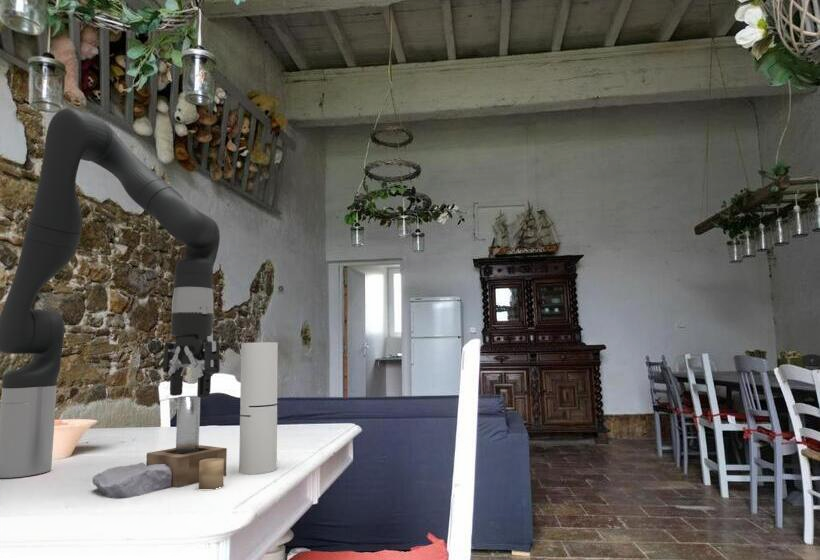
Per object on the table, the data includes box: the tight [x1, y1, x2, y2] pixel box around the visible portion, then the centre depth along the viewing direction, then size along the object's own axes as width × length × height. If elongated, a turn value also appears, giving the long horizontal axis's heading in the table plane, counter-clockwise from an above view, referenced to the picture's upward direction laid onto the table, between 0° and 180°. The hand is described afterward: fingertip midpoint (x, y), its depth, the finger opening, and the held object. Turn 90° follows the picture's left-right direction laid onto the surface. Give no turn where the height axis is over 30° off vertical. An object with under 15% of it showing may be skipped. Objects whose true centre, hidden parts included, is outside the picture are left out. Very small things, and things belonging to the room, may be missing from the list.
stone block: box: [92, 462, 172, 499], centre depth 92 cm, size 12×5×10 cm
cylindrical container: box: [238, 341, 279, 475], centre depth 106 cm, size 7×7×25 cm
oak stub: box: [198, 458, 225, 490], centre depth 92 cm, size 4×4×4 cm
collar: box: [145, 444, 228, 488], centre depth 99 cm, size 10×10×5 cm
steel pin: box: [175, 395, 201, 455], centre depth 100 cm, size 4×4×15 cm
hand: (189, 396), depth 101 cm, fingers open, 8 cm apart
